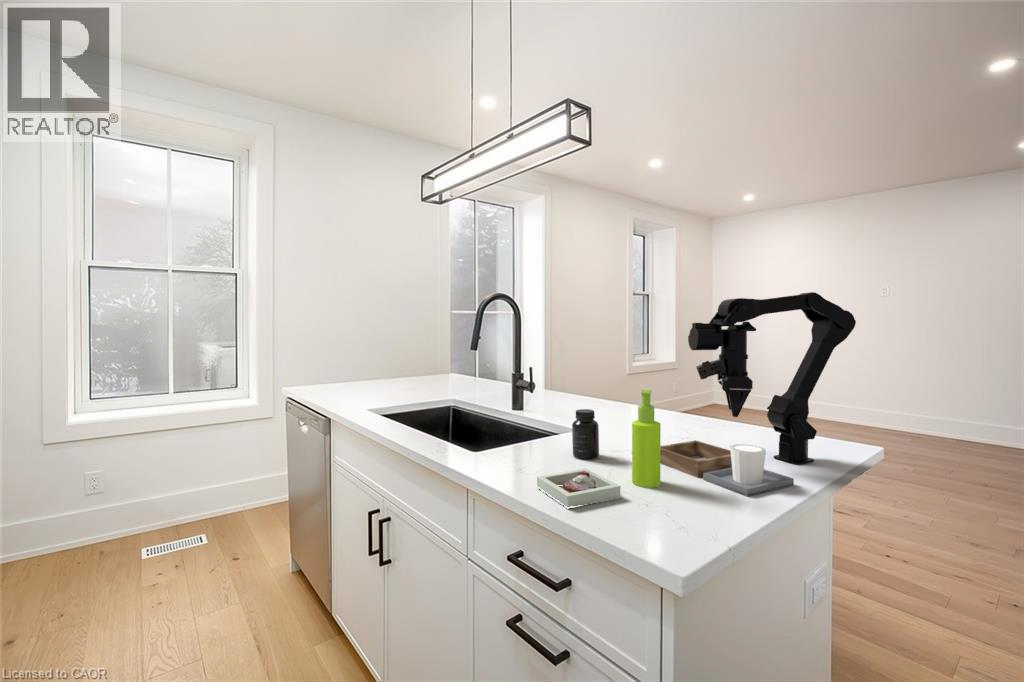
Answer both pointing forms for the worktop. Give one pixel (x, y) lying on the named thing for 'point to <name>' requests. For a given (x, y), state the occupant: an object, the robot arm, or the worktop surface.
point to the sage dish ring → (602, 493)
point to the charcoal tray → (768, 484)
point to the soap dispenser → (646, 445)
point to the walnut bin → (679, 459)
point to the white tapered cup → (747, 463)
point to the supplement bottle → (585, 435)
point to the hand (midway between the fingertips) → (733, 413)
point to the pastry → (580, 483)
